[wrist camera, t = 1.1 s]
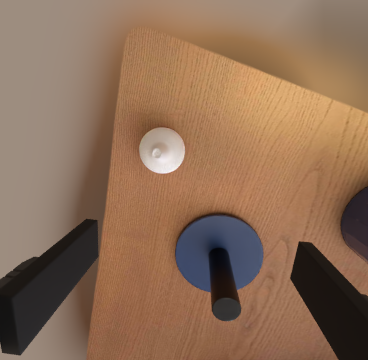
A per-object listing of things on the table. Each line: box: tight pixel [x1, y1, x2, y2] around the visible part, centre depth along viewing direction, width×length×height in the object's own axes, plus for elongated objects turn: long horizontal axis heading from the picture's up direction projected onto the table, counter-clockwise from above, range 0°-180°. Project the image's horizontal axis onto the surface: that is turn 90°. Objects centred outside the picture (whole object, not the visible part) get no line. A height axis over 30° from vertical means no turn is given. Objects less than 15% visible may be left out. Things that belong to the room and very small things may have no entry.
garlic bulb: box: [139, 127, 185, 174], centre depth 27 cm, size 6×6×8 cm
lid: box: [175, 215, 263, 321], centre depth 29 cm, size 14×14×11 cm
